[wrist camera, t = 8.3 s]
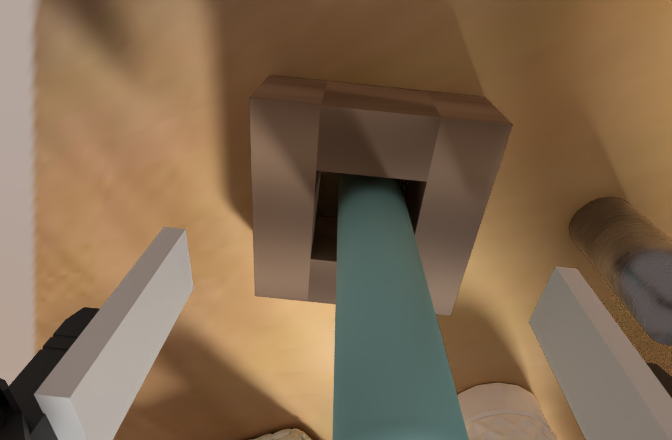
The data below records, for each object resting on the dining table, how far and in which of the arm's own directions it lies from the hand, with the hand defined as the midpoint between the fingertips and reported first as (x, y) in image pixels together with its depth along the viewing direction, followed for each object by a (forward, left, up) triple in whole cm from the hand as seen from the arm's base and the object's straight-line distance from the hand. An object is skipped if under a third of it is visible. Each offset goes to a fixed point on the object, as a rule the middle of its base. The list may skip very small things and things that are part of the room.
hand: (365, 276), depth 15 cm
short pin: (-1, -13, -8) cm, 15 cm away
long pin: (0, 0, -8) cm, 8 cm away
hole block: (0, 0, -8) cm, 8 cm away
